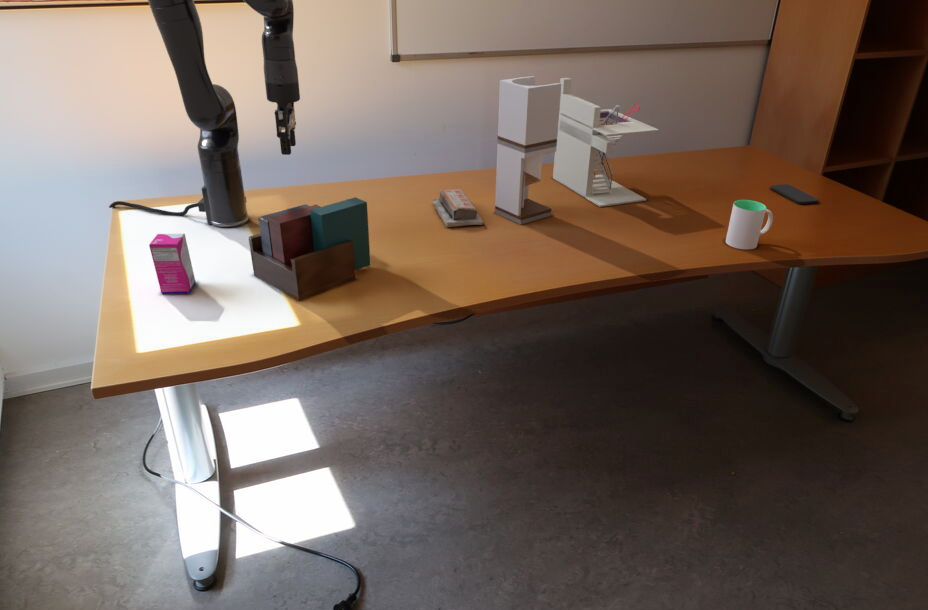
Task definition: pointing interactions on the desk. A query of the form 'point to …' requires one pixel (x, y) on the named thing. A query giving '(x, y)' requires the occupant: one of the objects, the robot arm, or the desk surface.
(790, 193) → the phone
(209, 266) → the desk surface
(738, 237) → the mug
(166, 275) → the supplement box
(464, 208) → the packaged product
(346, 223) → the book
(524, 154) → the notched white tower
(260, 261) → the book rack
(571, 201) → the desk surface
